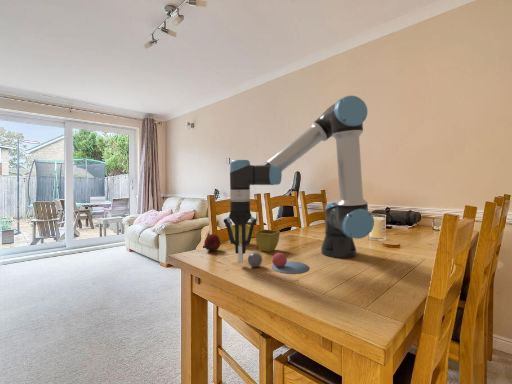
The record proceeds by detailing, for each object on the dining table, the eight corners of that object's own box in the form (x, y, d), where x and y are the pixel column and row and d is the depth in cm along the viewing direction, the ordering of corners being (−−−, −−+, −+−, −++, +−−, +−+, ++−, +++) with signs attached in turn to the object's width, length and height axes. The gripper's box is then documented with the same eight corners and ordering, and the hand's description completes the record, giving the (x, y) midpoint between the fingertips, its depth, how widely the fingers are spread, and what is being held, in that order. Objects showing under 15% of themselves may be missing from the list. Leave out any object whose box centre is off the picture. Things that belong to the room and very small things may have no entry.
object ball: (273, 265, 104) (287, 263, 104) (273, 270, 99) (288, 268, 99) (271, 252, 104) (285, 250, 104) (271, 256, 99) (285, 253, 98)
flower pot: (280, 249, 127) (280, 230, 127) (271, 253, 120) (271, 234, 119) (264, 247, 132) (264, 229, 131) (254, 251, 124) (254, 232, 124)
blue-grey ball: (245, 255, 105) (253, 267, 105) (244, 259, 99) (252, 271, 99) (257, 248, 104) (265, 259, 104) (256, 252, 99) (264, 264, 99)
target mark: (306, 261, 108) (306, 261, 108) (311, 274, 94) (311, 273, 94) (271, 261, 109) (271, 260, 109) (271, 273, 95) (271, 272, 95)
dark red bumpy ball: (223, 249, 128) (222, 232, 128) (216, 253, 121) (216, 236, 120) (208, 248, 130) (208, 232, 130) (201, 252, 123) (201, 235, 122)
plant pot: (232, 241, 143) (232, 223, 143) (251, 242, 142) (251, 224, 142) (228, 246, 133) (228, 227, 133) (249, 247, 132) (249, 227, 131)
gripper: (221, 201, 98) (222, 264, 99) (256, 201, 97) (257, 265, 98) (224, 199, 105) (225, 258, 106) (257, 199, 105) (258, 259, 106)
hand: (240, 261), depth 102 cm, fingers closed
